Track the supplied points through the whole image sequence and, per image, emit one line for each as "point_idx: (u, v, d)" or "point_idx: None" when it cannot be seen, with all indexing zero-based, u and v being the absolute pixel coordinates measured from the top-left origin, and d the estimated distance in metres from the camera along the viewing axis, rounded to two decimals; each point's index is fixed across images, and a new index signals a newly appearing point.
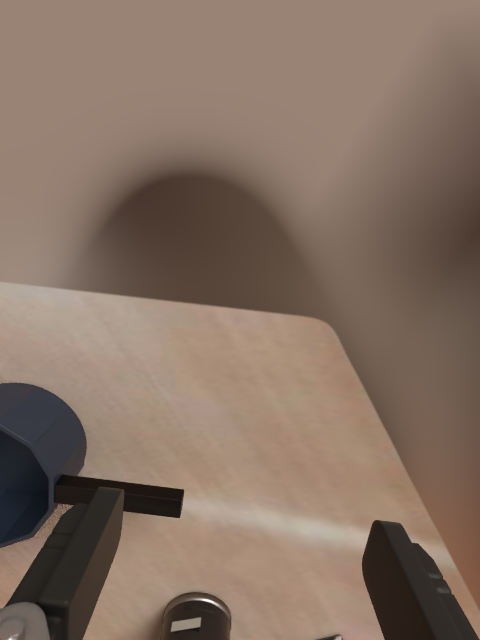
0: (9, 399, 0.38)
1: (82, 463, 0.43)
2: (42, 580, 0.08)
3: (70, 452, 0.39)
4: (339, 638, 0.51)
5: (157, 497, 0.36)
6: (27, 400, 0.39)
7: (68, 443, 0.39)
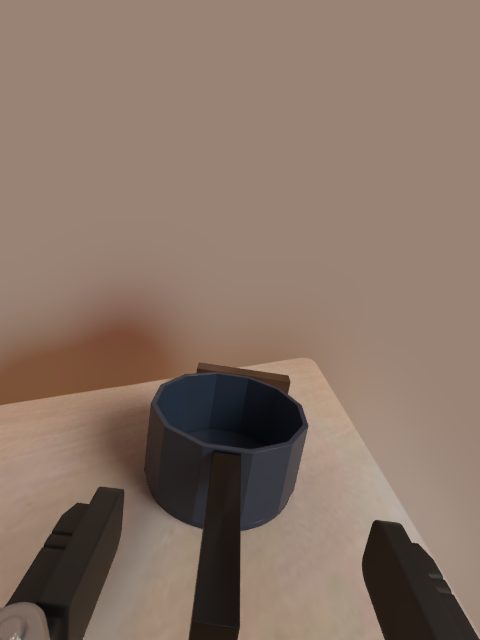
0: None
1: (199, 518, 0.30)
2: (42, 580, 0.08)
3: (247, 493, 0.30)
4: None
5: (238, 577, 0.19)
6: (297, 469, 0.35)
7: (255, 495, 0.30)
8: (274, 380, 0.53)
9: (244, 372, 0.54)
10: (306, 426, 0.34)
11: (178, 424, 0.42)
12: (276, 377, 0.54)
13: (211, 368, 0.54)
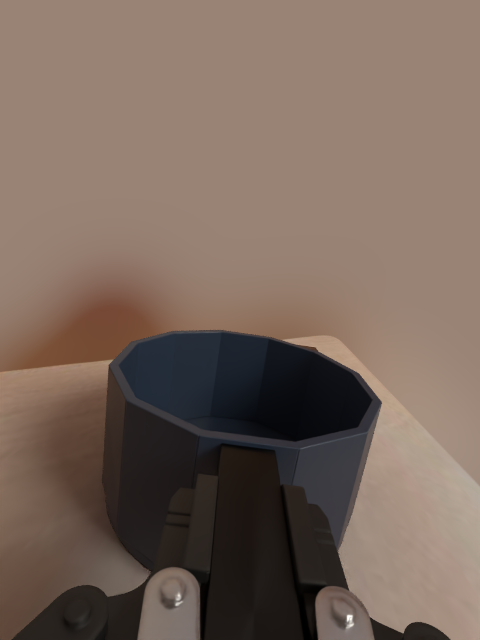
0: None
1: None
2: (174, 551, 0.09)
3: None
4: None
5: None
6: (361, 477, 0.21)
7: None
8: None
9: None
10: (379, 403, 0.20)
11: (163, 408, 0.27)
12: None
13: None
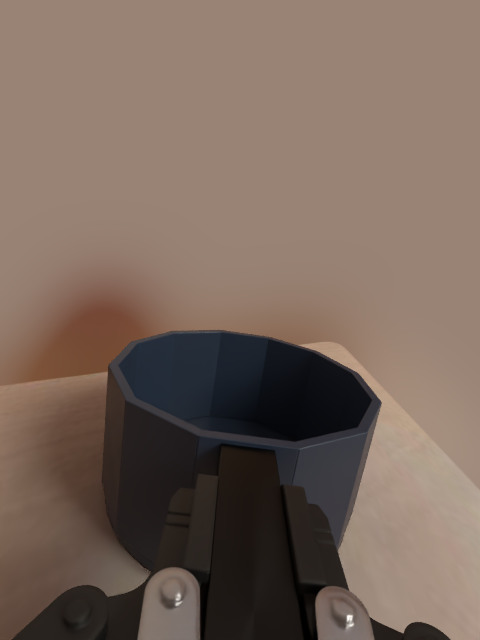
0: None
1: None
2: (174, 552, 0.09)
3: None
4: None
5: None
6: (360, 477, 0.21)
7: None
8: None
9: None
10: (379, 403, 0.20)
11: (163, 408, 0.27)
12: None
13: None
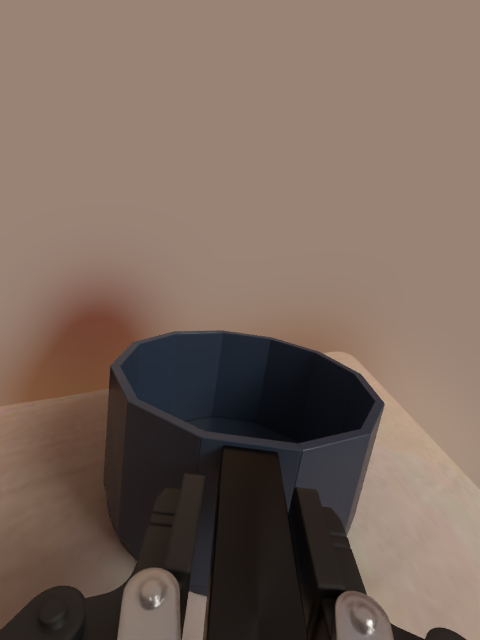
0: None
1: (195, 577, 0.16)
2: (157, 552, 0.09)
3: None
4: None
5: None
6: (363, 479, 0.21)
7: None
8: None
9: None
10: (382, 404, 0.19)
11: (165, 409, 0.27)
12: None
13: None
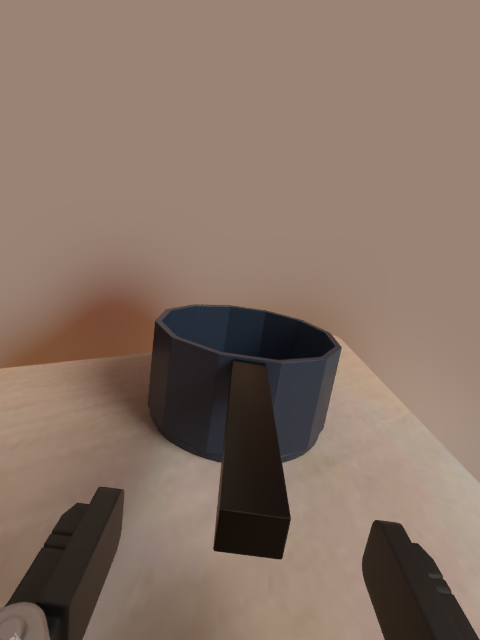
0: None
1: (214, 448, 0.25)
2: (42, 580, 0.08)
3: (273, 415, 0.24)
4: None
5: None
6: (328, 401, 0.30)
7: (282, 420, 0.25)
8: None
9: None
10: (339, 347, 0.29)
11: None
12: None
13: None
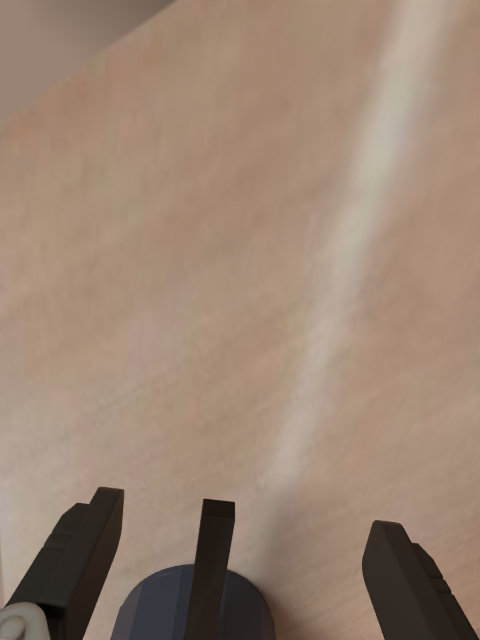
0: None
1: None
2: (42, 580, 0.08)
3: (174, 607, 0.30)
4: None
5: (198, 546, 0.24)
6: (112, 636, 0.32)
7: (165, 604, 0.30)
8: None
9: None
10: None
11: None
12: None
13: None
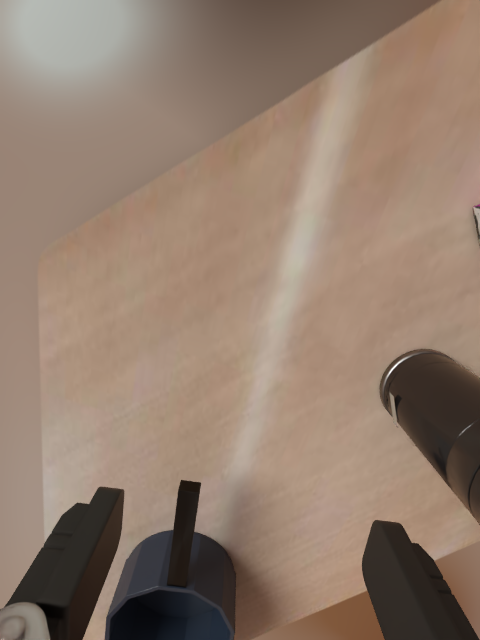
0: None
1: (196, 538, 0.47)
2: (42, 580, 0.08)
3: (163, 556, 0.44)
4: (475, 210, 0.37)
5: (176, 509, 0.38)
6: (121, 577, 0.46)
7: (157, 554, 0.45)
8: None
9: None
10: (108, 616, 0.41)
11: (213, 619, 0.49)
12: None
13: None
